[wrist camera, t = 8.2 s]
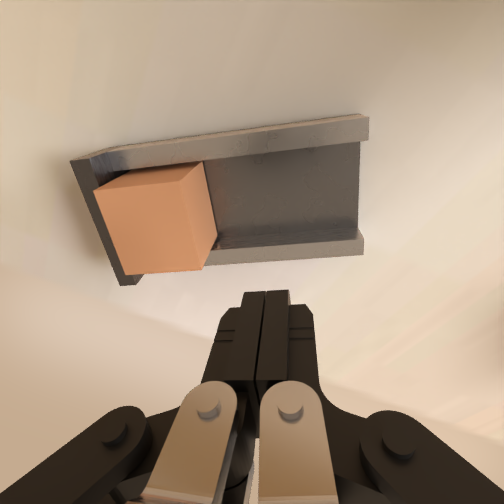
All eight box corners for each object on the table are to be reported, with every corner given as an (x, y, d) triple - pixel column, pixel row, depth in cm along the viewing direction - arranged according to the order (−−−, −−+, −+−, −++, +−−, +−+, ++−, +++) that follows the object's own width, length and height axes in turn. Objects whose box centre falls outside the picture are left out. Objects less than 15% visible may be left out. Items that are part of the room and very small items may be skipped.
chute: (359, 113, 19) (379, 120, 15) (355, 238, 23) (370, 270, 19) (109, 147, 21) (69, 160, 17) (145, 254, 25) (120, 285, 21)
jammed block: (202, 161, 20) (179, 180, 16) (217, 235, 23) (201, 270, 18) (132, 169, 21) (92, 190, 17) (155, 240, 23) (125, 275, 19)
